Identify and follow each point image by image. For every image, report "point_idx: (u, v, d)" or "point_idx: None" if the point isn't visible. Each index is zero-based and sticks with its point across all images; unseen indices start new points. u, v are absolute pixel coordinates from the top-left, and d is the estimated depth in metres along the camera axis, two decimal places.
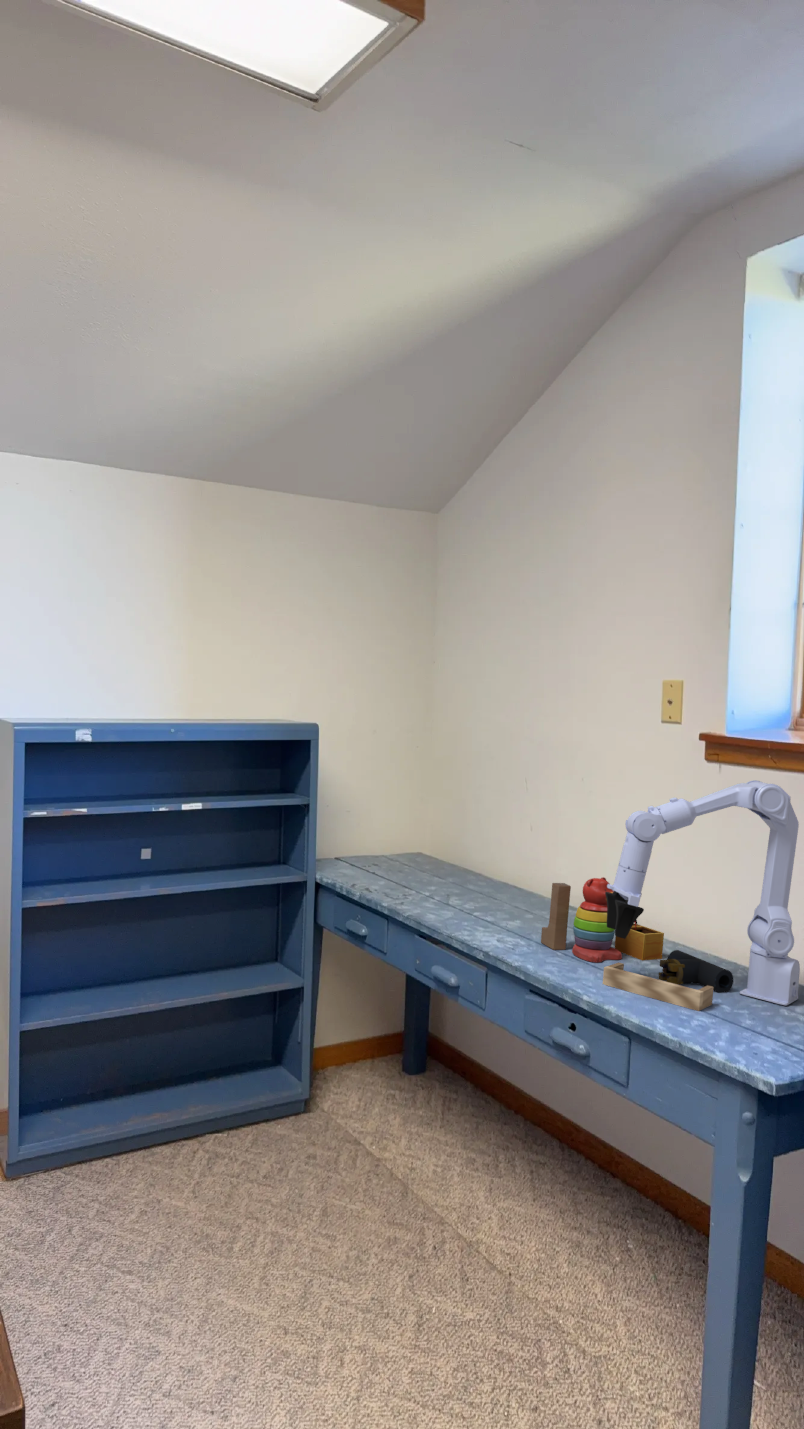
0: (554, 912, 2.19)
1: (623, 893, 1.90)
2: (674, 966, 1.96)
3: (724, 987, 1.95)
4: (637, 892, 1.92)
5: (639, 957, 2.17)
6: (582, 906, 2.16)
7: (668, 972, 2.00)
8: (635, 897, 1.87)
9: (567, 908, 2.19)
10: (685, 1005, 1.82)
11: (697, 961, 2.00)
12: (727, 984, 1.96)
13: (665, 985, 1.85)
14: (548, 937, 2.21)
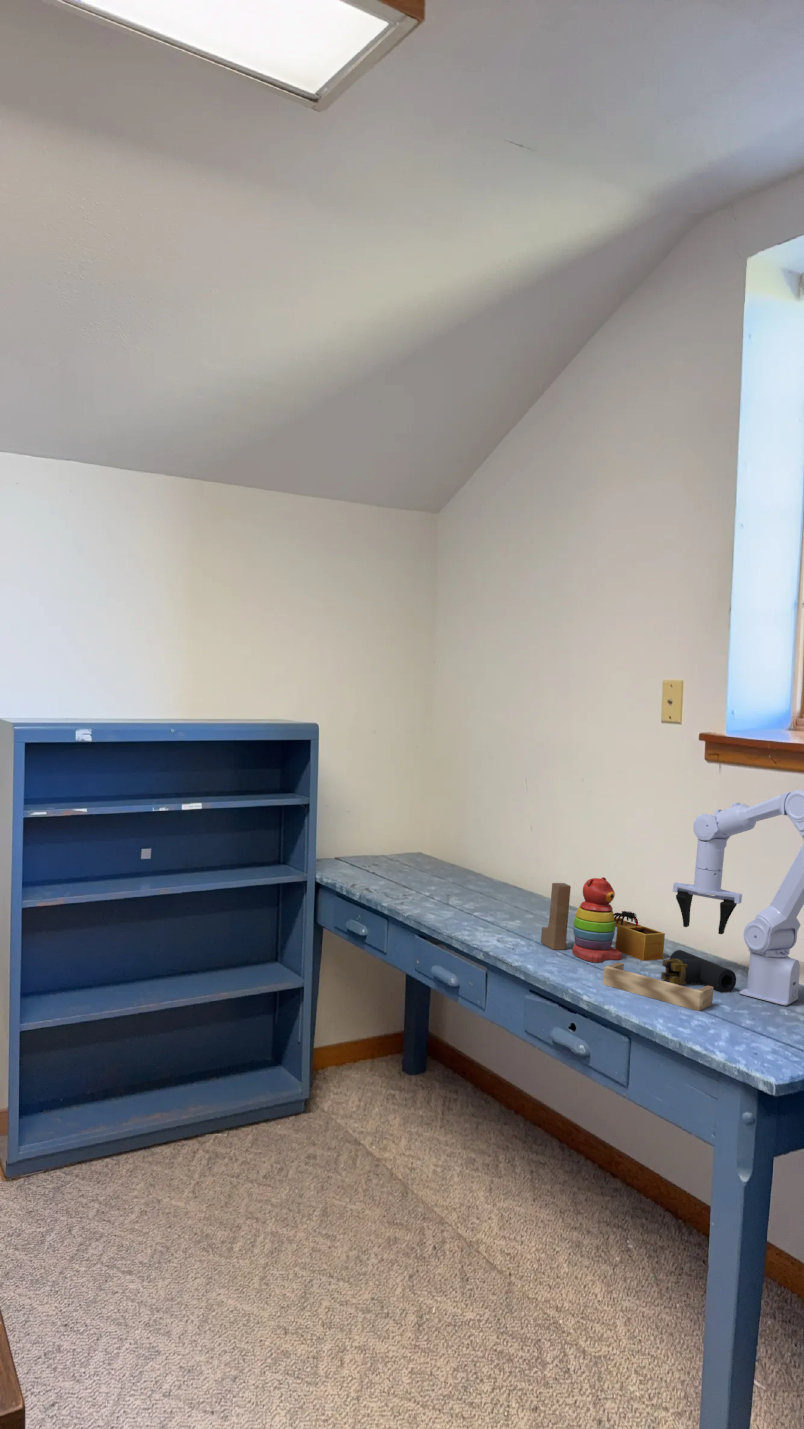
0: (554, 912, 2.19)
1: None
2: (677, 966, 1.97)
3: (727, 987, 1.96)
4: (694, 886, 2.09)
5: (640, 957, 2.16)
6: (582, 906, 2.16)
7: (671, 972, 2.00)
8: None
9: (567, 908, 2.19)
10: (685, 1005, 1.82)
11: (700, 961, 2.01)
12: (730, 984, 1.96)
13: (665, 985, 1.85)
14: (548, 937, 2.21)
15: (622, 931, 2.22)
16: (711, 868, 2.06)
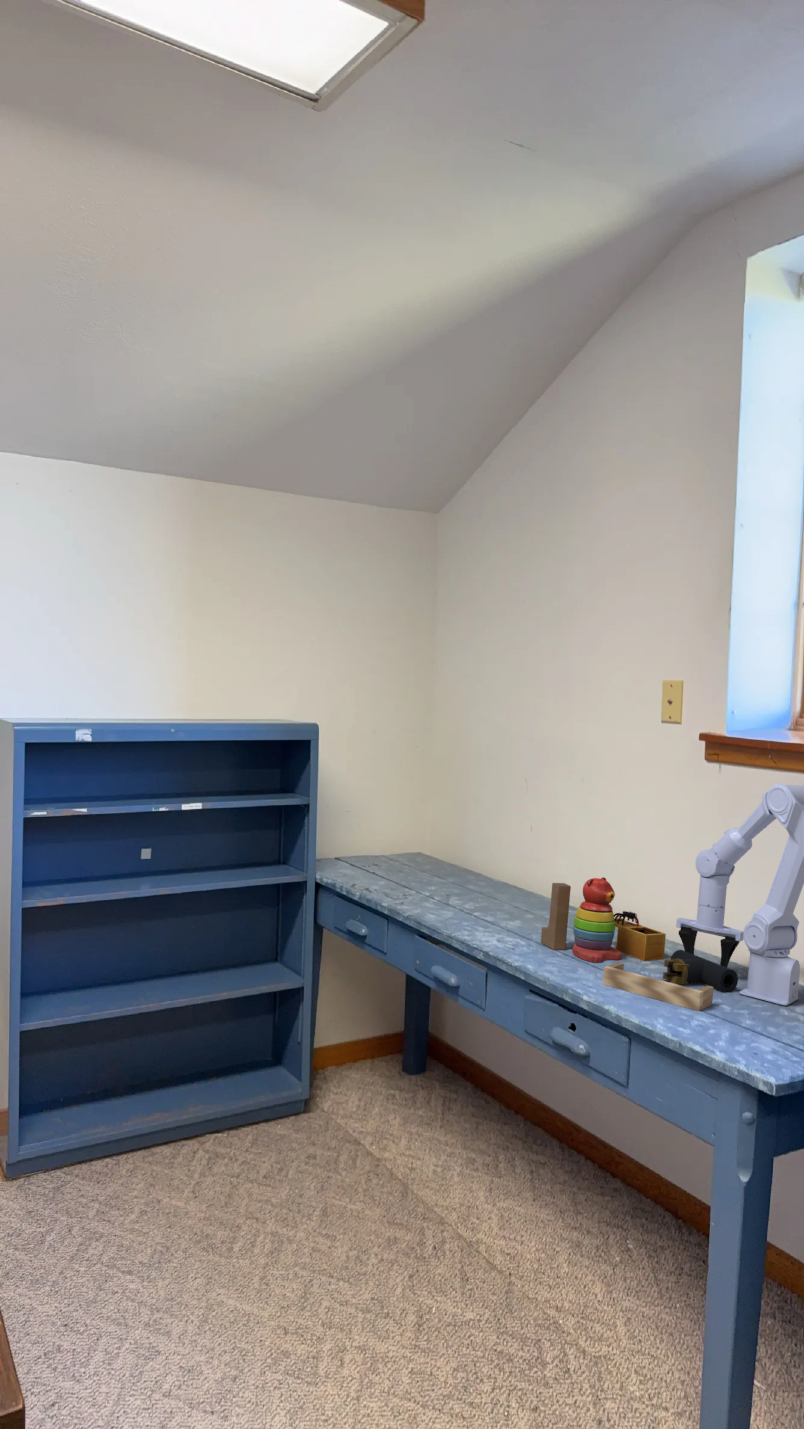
0: (554, 912, 2.19)
1: None
2: (679, 966, 1.97)
3: (729, 987, 1.96)
4: (696, 922, 2.09)
5: (641, 958, 2.16)
6: (582, 906, 2.16)
7: (672, 972, 2.00)
8: None
9: (567, 908, 2.19)
10: (685, 1005, 1.82)
11: (701, 961, 2.01)
12: (732, 984, 1.96)
13: (665, 985, 1.85)
14: (548, 937, 2.21)
15: (623, 931, 2.22)
16: (713, 905, 2.06)
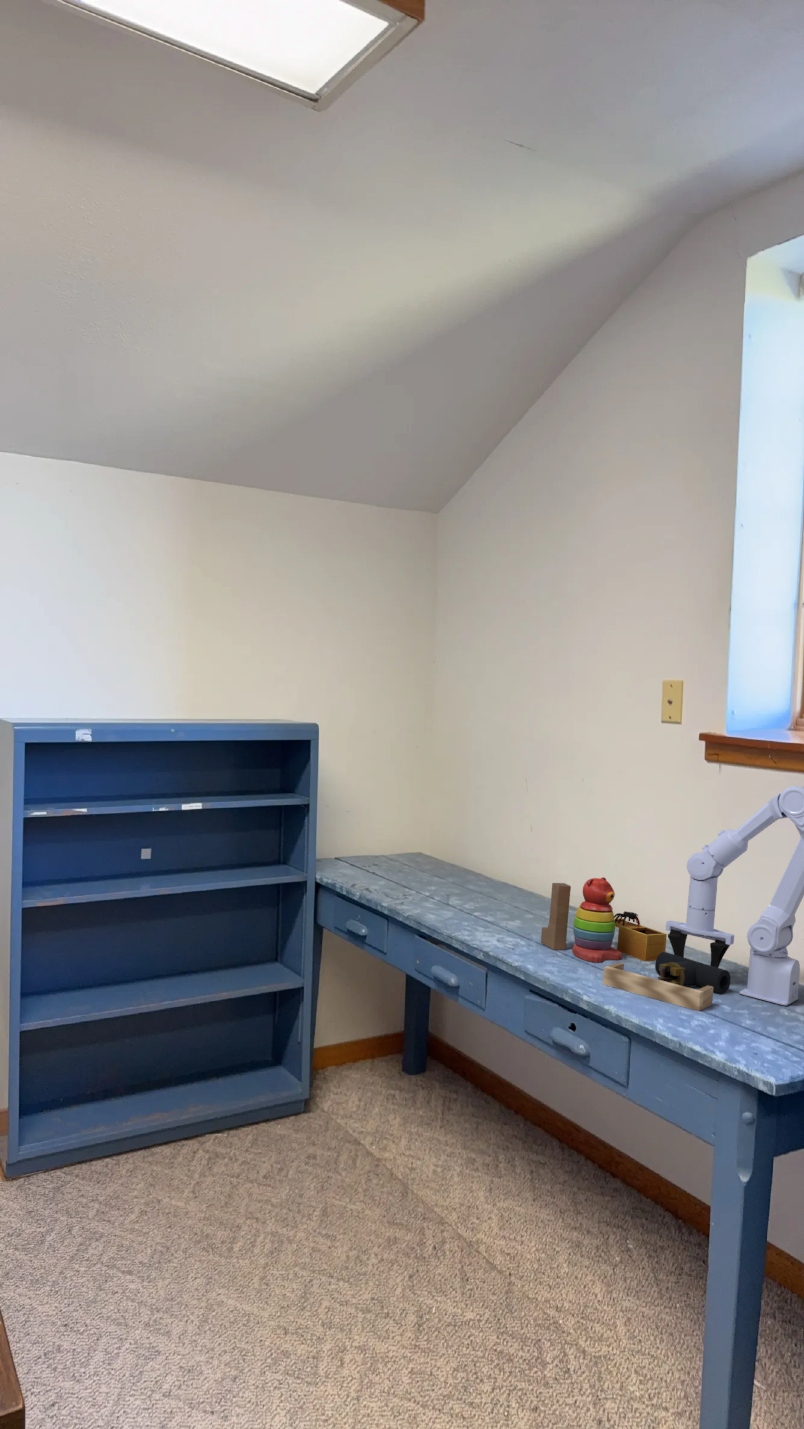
0: (554, 912, 2.19)
1: None
2: (677, 970, 1.93)
3: (723, 988, 1.95)
4: (686, 925, 2.05)
5: (642, 958, 2.16)
6: (582, 906, 2.16)
7: (666, 976, 1.96)
8: None
9: (567, 908, 2.19)
10: (685, 1005, 1.82)
11: (692, 963, 1.98)
12: (725, 984, 1.95)
13: (665, 985, 1.85)
14: (548, 937, 2.21)
15: (624, 932, 2.21)
16: (707, 908, 2.01)
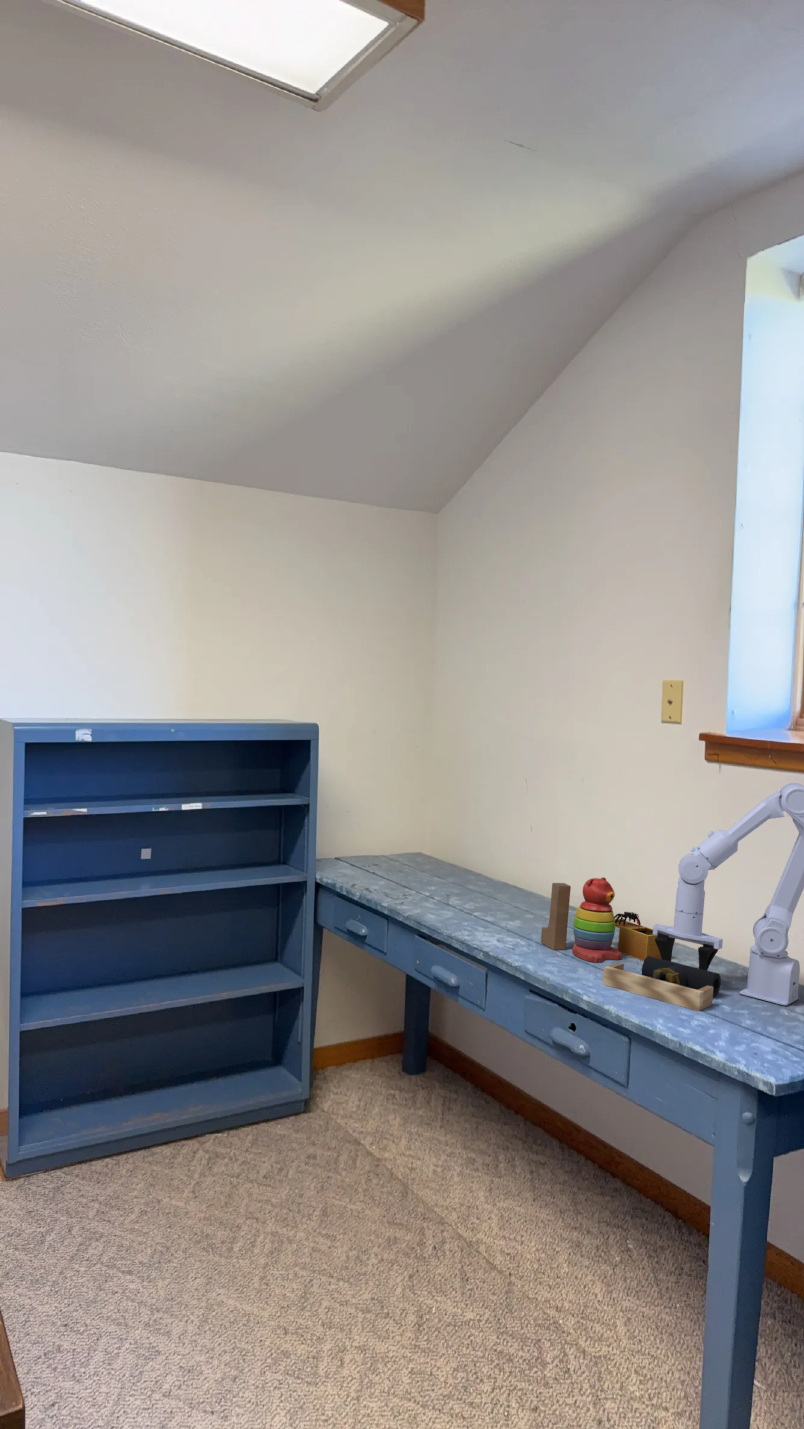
0: (554, 912, 2.19)
1: None
2: (673, 976, 1.88)
3: (714, 991, 1.92)
4: (673, 929, 2.00)
5: (642, 958, 2.16)
6: (582, 906, 2.16)
7: None
8: None
9: (567, 908, 2.19)
10: (685, 1005, 1.82)
11: (682, 967, 1.94)
12: (716, 987, 1.92)
13: (665, 985, 1.85)
14: (548, 937, 2.21)
15: (624, 932, 2.21)
16: (700, 911, 1.97)
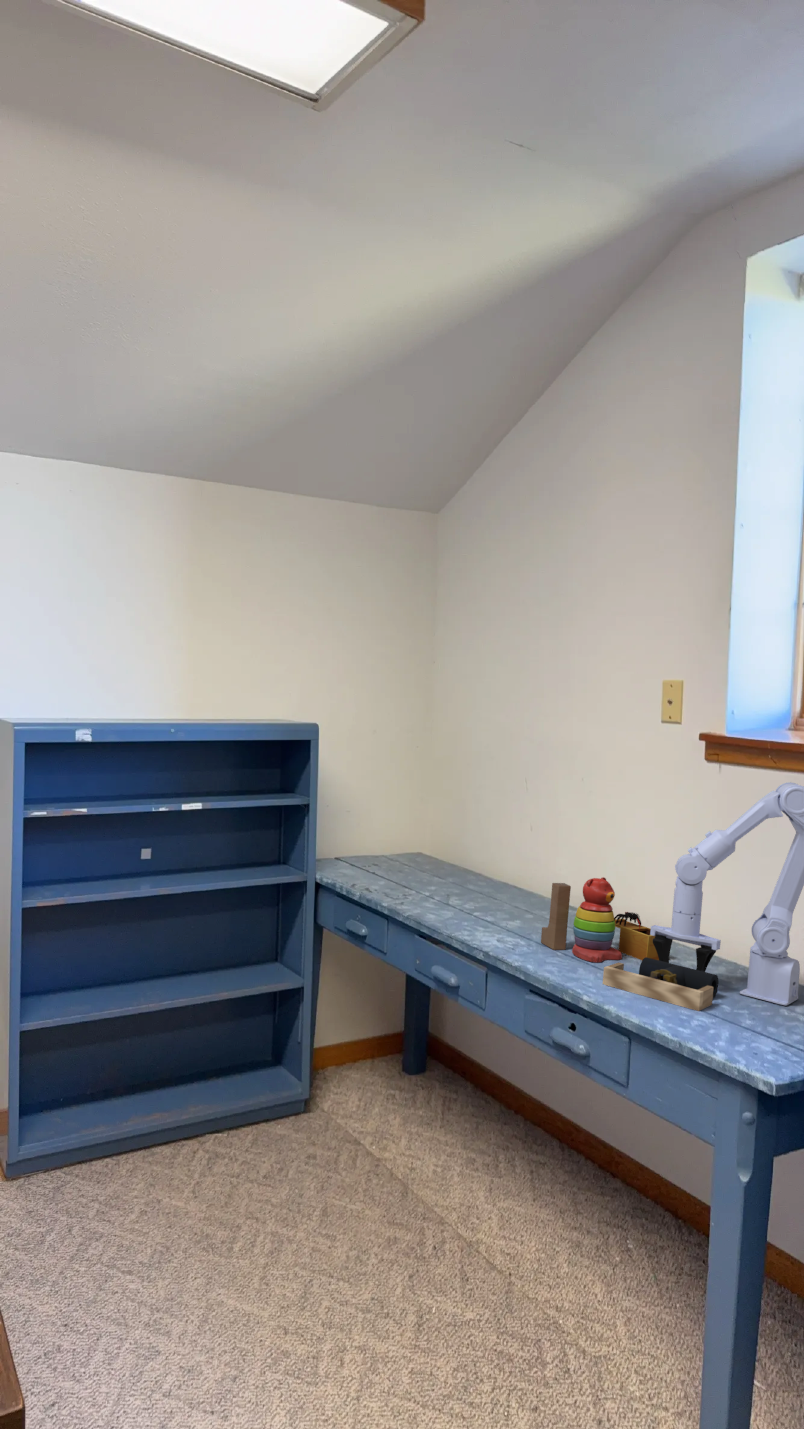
0: (554, 912, 2.19)
1: None
2: (670, 978, 1.87)
3: None
4: (671, 930, 1.99)
5: None
6: (582, 906, 2.16)
7: None
8: None
9: (567, 908, 2.19)
10: (685, 1005, 1.82)
11: (680, 968, 1.93)
12: (714, 989, 1.91)
13: (665, 985, 1.85)
14: (548, 937, 2.21)
15: (625, 932, 2.21)
16: (698, 912, 1.96)
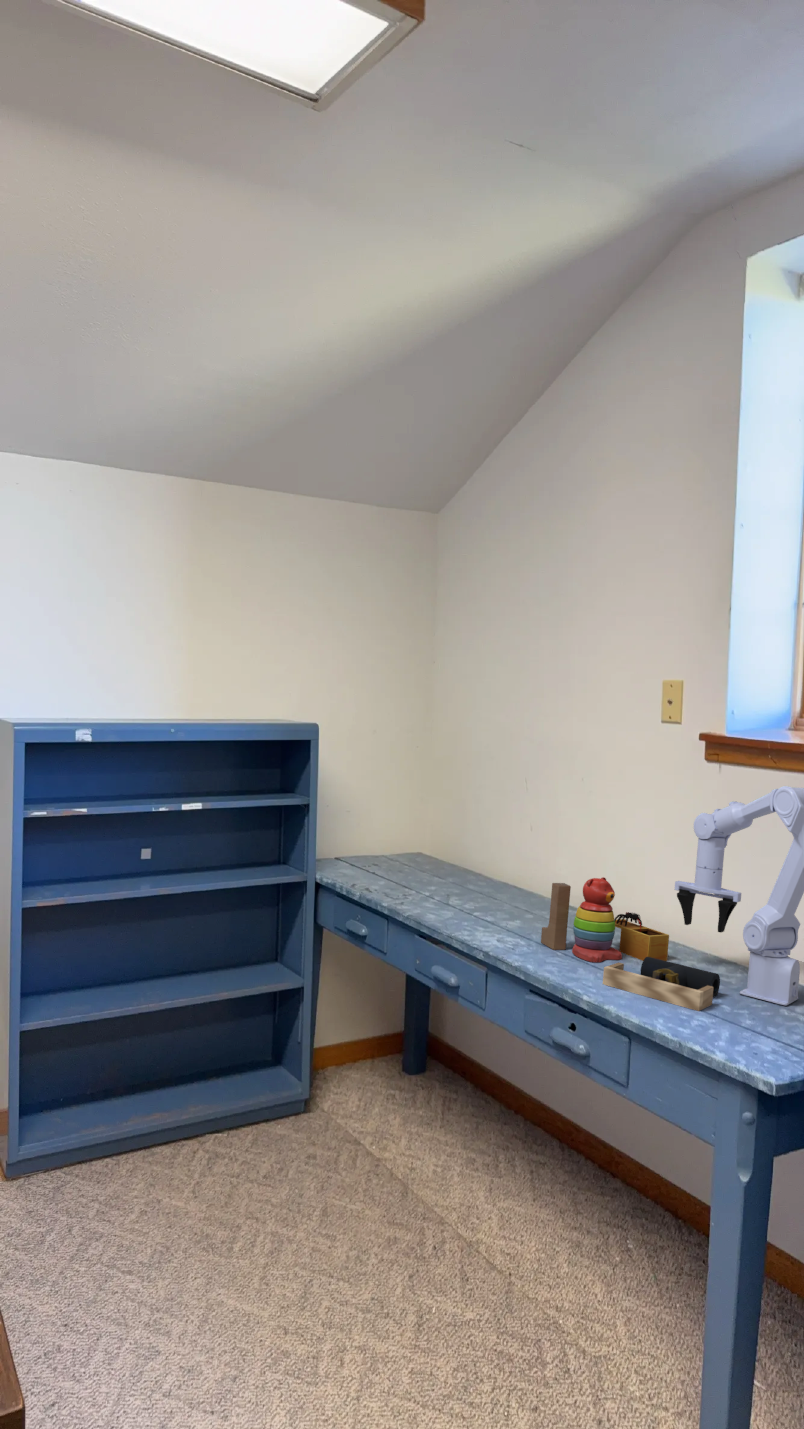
0: (554, 912, 2.19)
1: None
2: (672, 977, 1.88)
3: (714, 991, 1.92)
4: (694, 884, 2.12)
5: None
6: (582, 906, 2.16)
7: None
8: None
9: (567, 908, 2.19)
10: (685, 1005, 1.82)
11: (681, 967, 1.94)
12: (715, 988, 1.92)
13: (665, 985, 1.85)
14: (548, 937, 2.21)
15: (626, 932, 2.21)
16: (710, 867, 2.09)
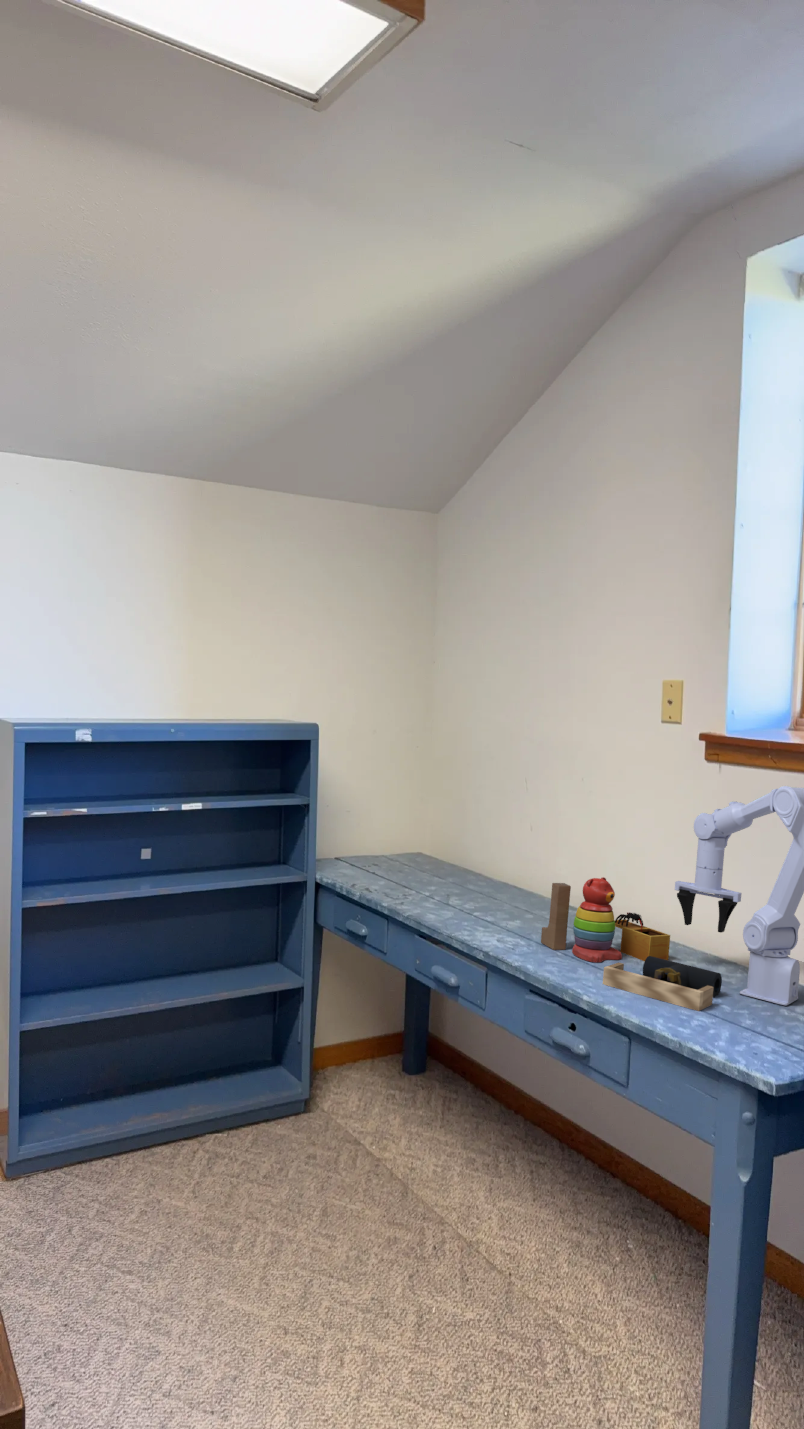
0: (554, 912, 2.19)
1: None
2: (674, 976, 1.89)
3: (715, 990, 1.92)
4: (694, 884, 2.12)
5: (645, 959, 2.15)
6: (582, 906, 2.16)
7: None
8: None
9: (567, 908, 2.19)
10: (685, 1005, 1.82)
11: (683, 966, 1.95)
12: (717, 987, 1.93)
13: (665, 985, 1.85)
14: (548, 937, 2.21)
15: (627, 933, 2.21)
16: (710, 867, 2.09)
